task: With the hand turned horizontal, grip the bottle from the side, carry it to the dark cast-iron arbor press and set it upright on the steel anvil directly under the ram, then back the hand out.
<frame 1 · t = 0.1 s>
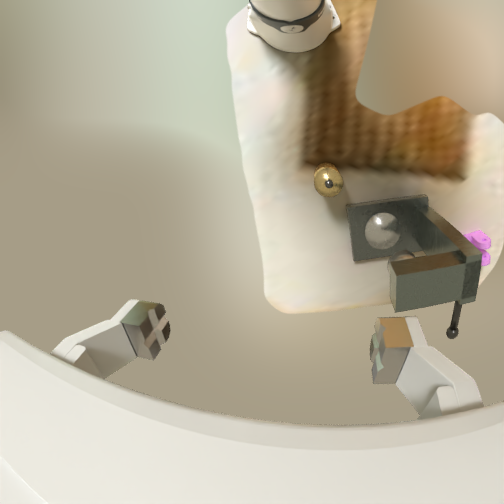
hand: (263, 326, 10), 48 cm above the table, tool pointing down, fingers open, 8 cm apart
bracket: (459, 246, 51), on the table
bottle: (326, 174, 52), on the table
press: (380, 227, 54), on the table
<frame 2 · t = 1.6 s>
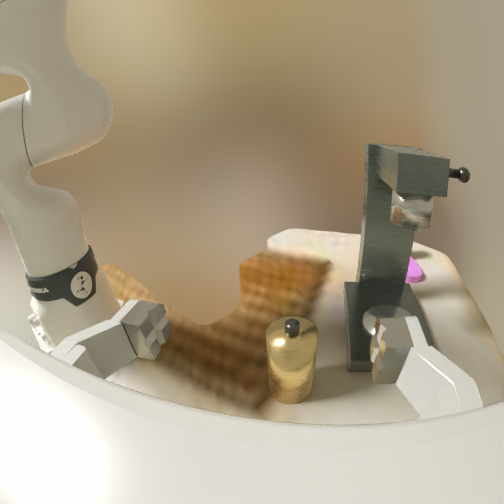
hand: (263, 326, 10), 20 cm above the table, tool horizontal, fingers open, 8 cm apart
bracket: (402, 267, 51), on the table
bottle: (290, 386, 29), on the table
press: (386, 334, 35), on the table
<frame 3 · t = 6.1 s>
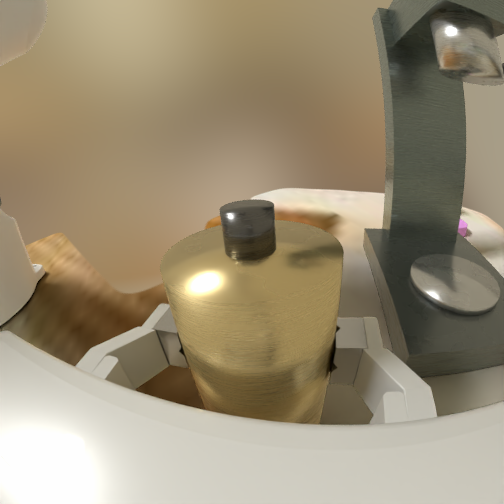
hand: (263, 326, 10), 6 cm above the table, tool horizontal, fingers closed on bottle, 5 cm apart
bottle: (266, 421, 11), on the table, touching gripper
press: (449, 304, 17), on the table
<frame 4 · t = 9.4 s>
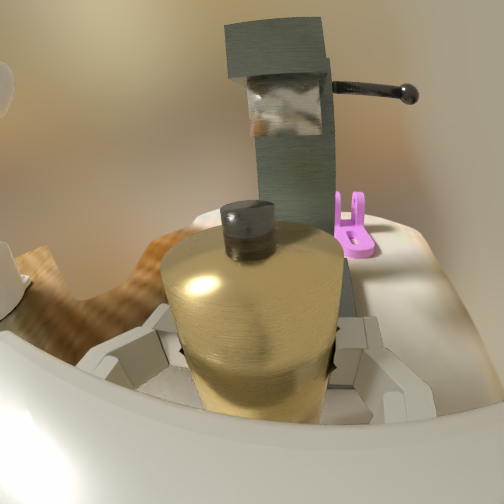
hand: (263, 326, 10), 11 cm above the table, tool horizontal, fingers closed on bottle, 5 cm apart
bracket: (350, 242, 42), on the table
bottle: (266, 421, 11), point 5 cm above the table, touching gripper
press: (290, 327, 25), on the table
when the fingers open (9 cm above the table, at t = 12.5 s): bottle drops 1 cm, resting on press.
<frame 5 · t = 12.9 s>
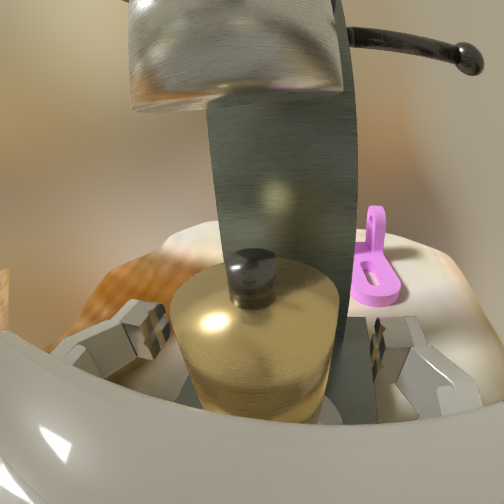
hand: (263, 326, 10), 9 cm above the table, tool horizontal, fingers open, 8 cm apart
bracket: (366, 276, 30), on the table
bottle: (266, 433, 12), point 3 cm above the table, touching press
press: (269, 449, 13), on the table
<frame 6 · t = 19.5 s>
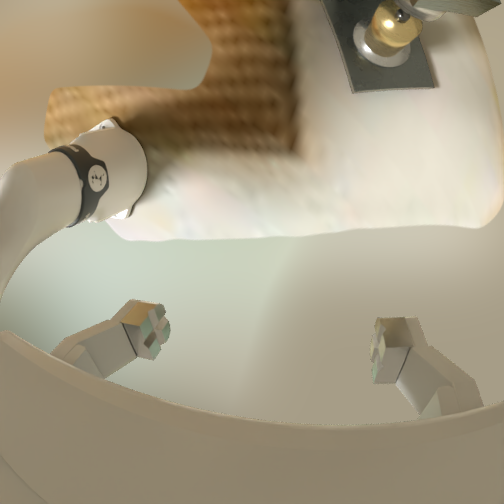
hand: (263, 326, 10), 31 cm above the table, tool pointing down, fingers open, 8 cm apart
bottle: (382, 41, 24), point 3 cm above the table, touching press
press: (378, 45, 26), on the table
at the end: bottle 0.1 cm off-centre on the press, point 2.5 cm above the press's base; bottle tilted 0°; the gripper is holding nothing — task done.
